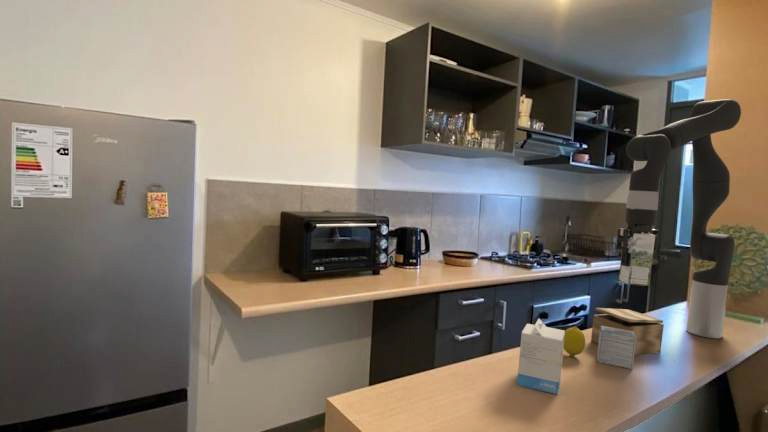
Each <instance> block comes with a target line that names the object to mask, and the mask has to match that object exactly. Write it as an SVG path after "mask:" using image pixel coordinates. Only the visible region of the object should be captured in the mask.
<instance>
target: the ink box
mask: <svg viewBox="0 0 768 432" xmlns="http://www.w3.org/2000/svg"><path fill="white" fill-rule="evenodd" d="M565 331H566V330H564V329H563V330H562V329H559V328H554V327H549V326H546V325H545V323H544V322H543V321H542V320H541V319H540V318H537V321H536V322H535V324H531V323H526V325H524V328H523V329H522V331H521V336H520V347H519V359H518V371H517V385H518V386H520V387H525V388H530V389H532V390H537V391H542V392H546V393H551V394H554V395H558V394H559V389H560V384H561V378H562V370H563V369H562V366H563V359H564V358H563V355H564V336H565Z"/></svg>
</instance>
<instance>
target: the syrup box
mask: <svg viewBox="0 0 768 432" xmlns="http://www.w3.org/2000/svg"><path fill="white" fill-rule="evenodd" d="M636 239H637V244H636V246H633V247H632V252H631V263H630V266H623V265H622V264H621V263H619V264H620V265H619V273H618V274H619V275H618V280H619V281H620V282H622V283H625V284H626V285H633V286H647V287H649V286H650V279H651V272H652V264H653V256H654V251H653V250H654V242H655V236H654V235H653V234H651V233H650V234H647V233H644V234H641V235H640V234H638V233H636V234H633V236H631V235H630V239H629V238H628V241H629V242H634V241H635V240H636ZM627 248H629V246H627ZM620 256H621V258H622V254H621V255H620ZM621 258H620V259H621Z"/></svg>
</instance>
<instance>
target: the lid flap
mask: <svg viewBox="0 0 768 432" xmlns="http://www.w3.org/2000/svg"><path fill="white" fill-rule="evenodd" d="M595 311H597V312H600V313H603V314H608V315H611V316H613V317H616V318H619V319H622V320H625V321H628V322H646V323H661V324H663V323H664V320H662V319H659V318H656V317H654V316H653V317H652V316H650V315H647V314H644V313H641V312H638V311H634V310H631V309H628V308H627V309H626V308H624V309H623V308H610V307H609V308H605V307H595Z"/></svg>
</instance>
